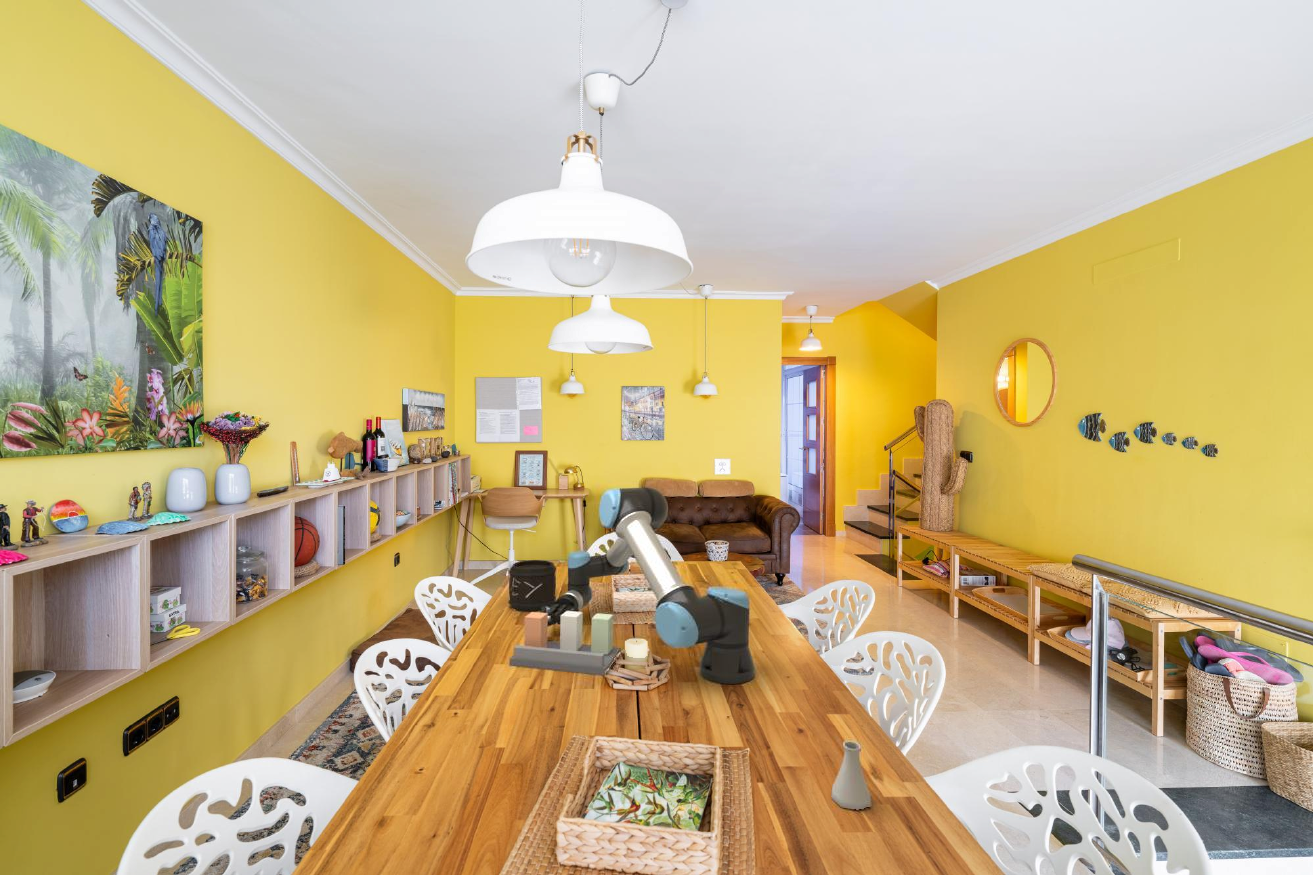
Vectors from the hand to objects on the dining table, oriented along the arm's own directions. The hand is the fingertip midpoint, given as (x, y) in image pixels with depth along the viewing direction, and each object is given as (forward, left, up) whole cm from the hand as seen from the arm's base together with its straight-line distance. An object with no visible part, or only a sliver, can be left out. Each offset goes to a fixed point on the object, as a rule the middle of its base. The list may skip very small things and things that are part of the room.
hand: (539, 626), depth 180 cm
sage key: (-19, -1, -6) cm, 20 cm away
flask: (-84, +52, -8) cm, 99 cm away
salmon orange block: (0, +3, -6) cm, 6 cm away
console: (-10, +2, -8) cm, 13 cm away
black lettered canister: (+22, -45, -8) cm, 51 cm away
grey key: (-10, -1, -6) cm, 11 cm away
